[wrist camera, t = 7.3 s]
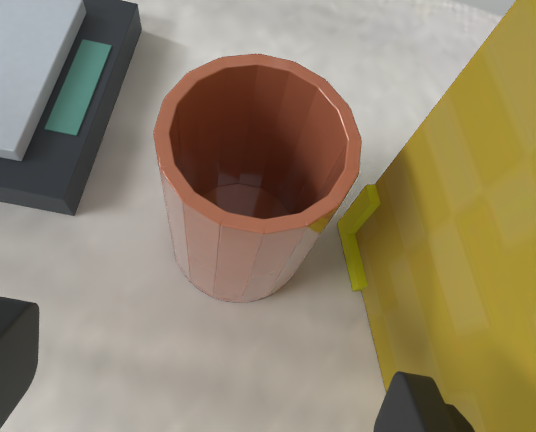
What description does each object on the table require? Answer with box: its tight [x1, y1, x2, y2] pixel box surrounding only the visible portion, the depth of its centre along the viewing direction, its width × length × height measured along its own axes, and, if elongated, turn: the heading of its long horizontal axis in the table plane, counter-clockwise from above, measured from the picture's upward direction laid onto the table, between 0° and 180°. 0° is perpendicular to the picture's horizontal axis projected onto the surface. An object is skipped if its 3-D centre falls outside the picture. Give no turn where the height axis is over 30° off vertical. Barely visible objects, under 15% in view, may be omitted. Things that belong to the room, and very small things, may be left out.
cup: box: [153, 54, 362, 302], centre depth 20 cm, size 7×7×10 cm
